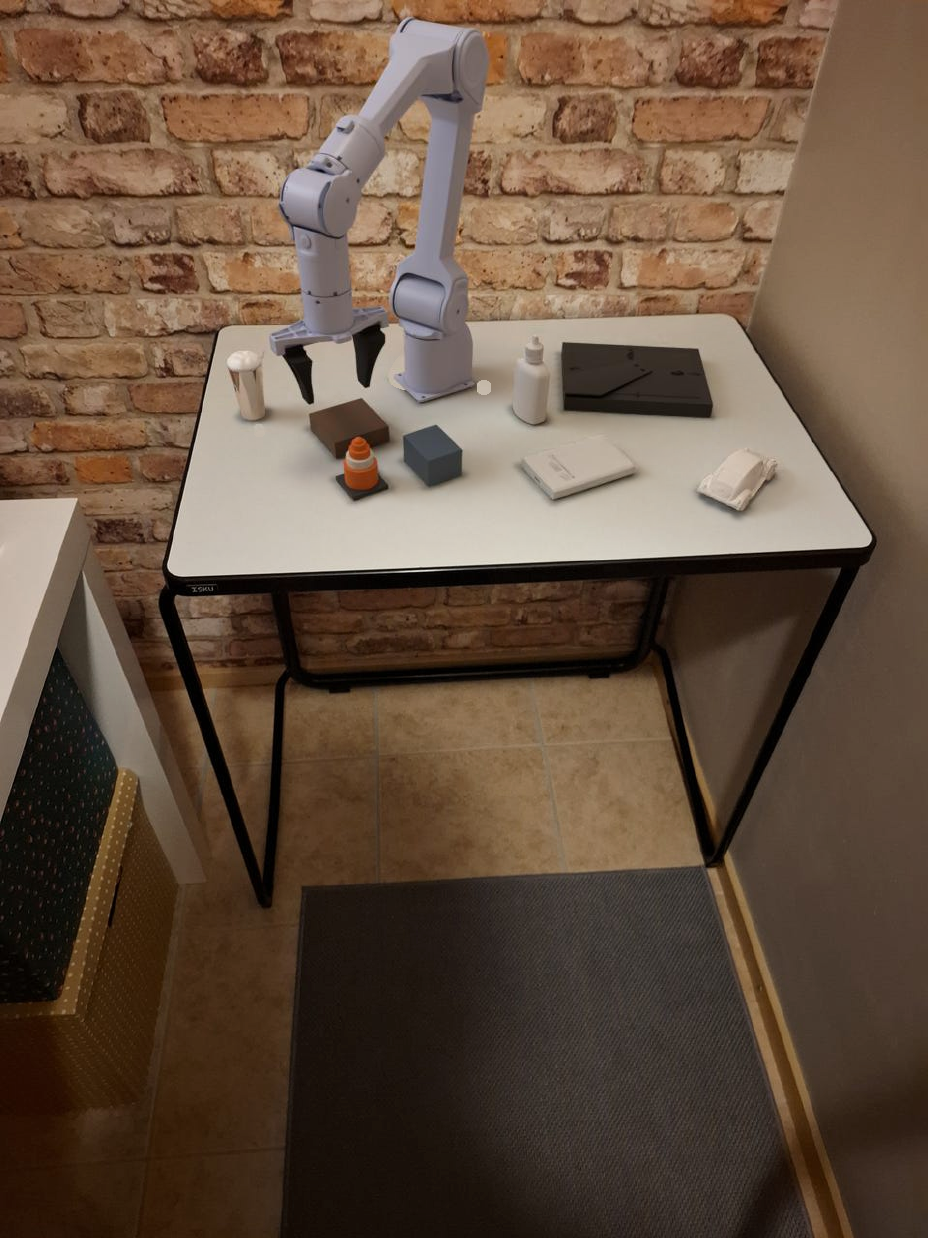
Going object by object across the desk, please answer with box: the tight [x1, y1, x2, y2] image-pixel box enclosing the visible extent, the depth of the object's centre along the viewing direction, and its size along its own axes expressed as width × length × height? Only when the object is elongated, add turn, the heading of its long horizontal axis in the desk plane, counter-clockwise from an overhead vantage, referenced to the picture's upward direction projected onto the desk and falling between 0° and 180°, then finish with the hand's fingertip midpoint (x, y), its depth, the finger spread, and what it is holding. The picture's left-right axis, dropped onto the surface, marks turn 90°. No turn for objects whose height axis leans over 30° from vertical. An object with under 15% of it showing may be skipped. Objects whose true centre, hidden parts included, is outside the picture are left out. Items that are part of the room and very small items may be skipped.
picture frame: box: [560, 341, 714, 418], centre depth 126 cm, size 16×3×21 cm
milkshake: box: [226, 350, 266, 421], centre depth 116 cm, size 4×5×10 cm
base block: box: [308, 397, 391, 460], centre depth 115 cm, size 8×8×2 cm
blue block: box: [402, 424, 463, 488], centre depth 110 cm, size 5×6×4 cm
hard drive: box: [520, 433, 637, 500], centre depth 111 cm, size 2×8×12 cm
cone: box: [335, 437, 390, 501], centre depth 106 cm, size 5×5×7 cm
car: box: [696, 447, 779, 512], centre depth 108 cm, size 12×6×5 cm, turn 140°
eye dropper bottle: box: [511, 333, 551, 425], centre depth 116 cm, size 4×6×12 cm
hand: (336, 391), depth 107 cm, fingers open, 7 cm apart
